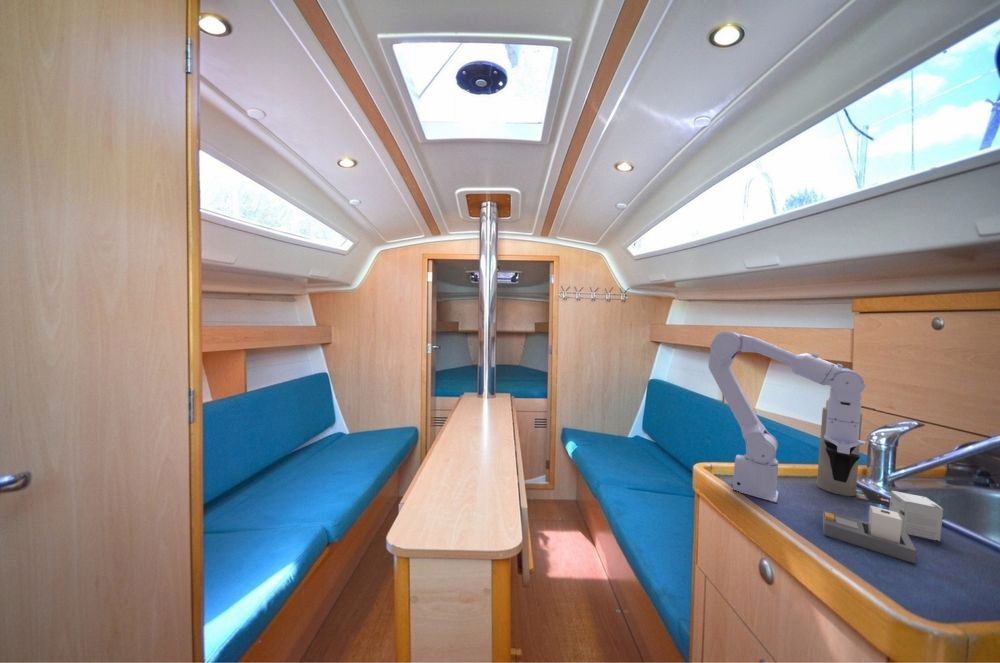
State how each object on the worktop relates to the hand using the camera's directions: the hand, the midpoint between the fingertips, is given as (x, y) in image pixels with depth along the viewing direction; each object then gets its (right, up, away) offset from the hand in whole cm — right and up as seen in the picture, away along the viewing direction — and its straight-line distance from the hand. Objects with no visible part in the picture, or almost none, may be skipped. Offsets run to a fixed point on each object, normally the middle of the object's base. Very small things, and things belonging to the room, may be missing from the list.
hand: (838, 476), depth 86 cm
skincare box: (+12, -11, -5) cm, 17 cm away
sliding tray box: (-4, -10, -10) cm, 14 cm away
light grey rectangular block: (-2, -10, -12) cm, 15 cm away
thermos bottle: (+13, -10, +15) cm, 22 cm away
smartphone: (+22, -11, +8) cm, 26 cm away
